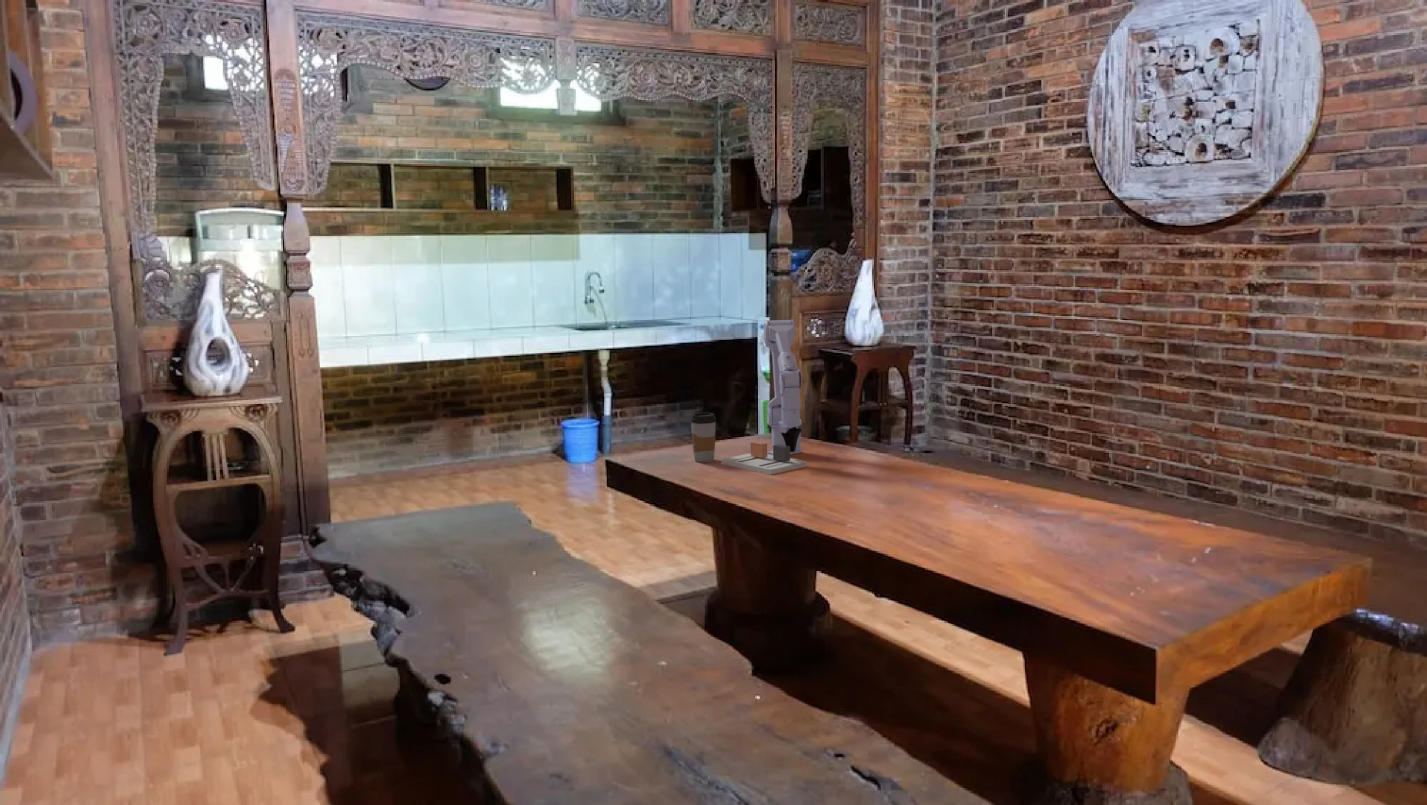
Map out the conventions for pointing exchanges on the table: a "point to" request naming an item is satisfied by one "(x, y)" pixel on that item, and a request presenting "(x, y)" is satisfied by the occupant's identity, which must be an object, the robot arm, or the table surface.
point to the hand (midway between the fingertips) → (791, 451)
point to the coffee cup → (703, 436)
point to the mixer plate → (763, 463)
